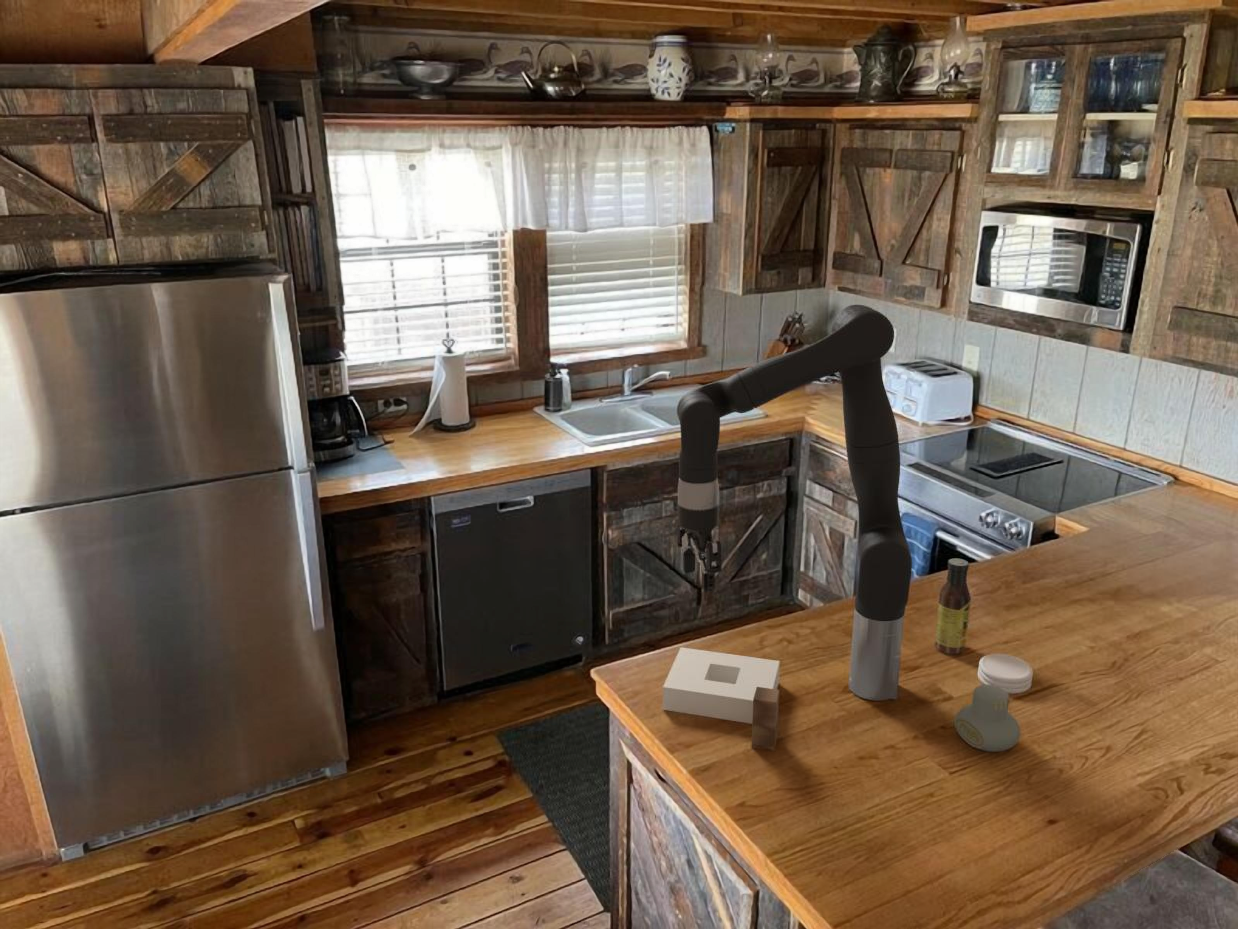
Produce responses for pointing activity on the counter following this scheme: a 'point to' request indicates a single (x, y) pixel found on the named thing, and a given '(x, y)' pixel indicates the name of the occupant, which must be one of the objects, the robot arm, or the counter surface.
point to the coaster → (1005, 672)
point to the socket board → (717, 684)
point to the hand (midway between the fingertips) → (698, 580)
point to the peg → (765, 718)
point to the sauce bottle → (953, 609)
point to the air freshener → (988, 720)
